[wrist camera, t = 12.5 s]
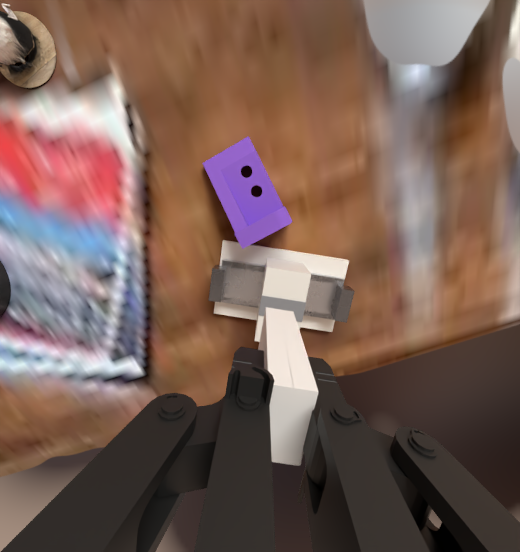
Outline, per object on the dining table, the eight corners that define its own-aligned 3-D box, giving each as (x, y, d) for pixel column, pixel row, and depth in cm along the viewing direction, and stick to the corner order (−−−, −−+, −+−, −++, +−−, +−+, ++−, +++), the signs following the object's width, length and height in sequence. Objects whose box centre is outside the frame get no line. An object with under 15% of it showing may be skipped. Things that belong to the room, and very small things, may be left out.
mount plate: (214, 311, 41) (213, 313, 40) (223, 239, 38) (222, 240, 37) (330, 329, 41) (332, 332, 40) (347, 259, 38) (349, 260, 38)
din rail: (213, 297, 39) (207, 306, 35) (218, 257, 38) (213, 262, 34) (337, 317, 39) (345, 327, 36) (347, 278, 38) (355, 285, 34)
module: (256, 318, 38) (254, 341, 31) (266, 257, 36) (266, 267, 29) (291, 323, 38) (296, 348, 31) (303, 263, 36) (312, 274, 29)
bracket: (289, 220, 38) (293, 222, 31) (246, 243, 39) (242, 249, 32) (249, 139, 36) (245, 122, 29) (205, 165, 36) (191, 154, 30)
